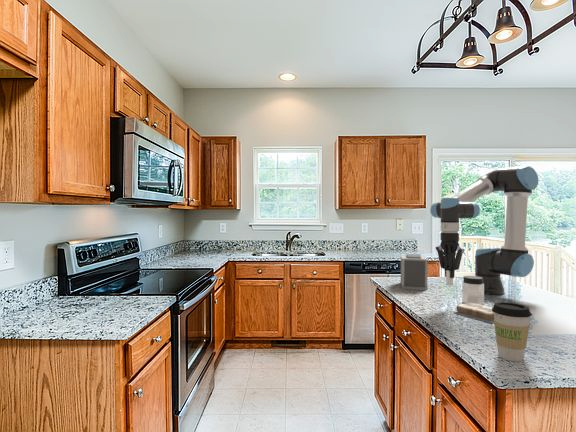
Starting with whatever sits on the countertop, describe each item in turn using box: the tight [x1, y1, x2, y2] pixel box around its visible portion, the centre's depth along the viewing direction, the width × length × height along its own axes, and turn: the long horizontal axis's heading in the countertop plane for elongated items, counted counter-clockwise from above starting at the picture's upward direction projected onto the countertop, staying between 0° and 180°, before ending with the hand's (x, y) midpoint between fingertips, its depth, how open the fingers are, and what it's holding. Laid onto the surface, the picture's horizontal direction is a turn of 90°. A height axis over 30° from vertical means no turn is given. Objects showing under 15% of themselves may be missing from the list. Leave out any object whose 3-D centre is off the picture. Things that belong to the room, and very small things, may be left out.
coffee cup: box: [492, 301, 533, 363], centre depth 103 cm, size 10×10×15 cm
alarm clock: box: [400, 253, 429, 291], centre depth 201 cm, size 18×13×18 cm
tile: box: [456, 302, 494, 320], centre depth 146 cm, size 10×2×14 cm
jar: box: [461, 275, 485, 305], centre depth 164 cm, size 9×8×12 cm
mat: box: [453, 311, 494, 325], centre depth 144 cm, size 16×16×1 cm
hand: (449, 284), depth 158 cm, fingers closed
